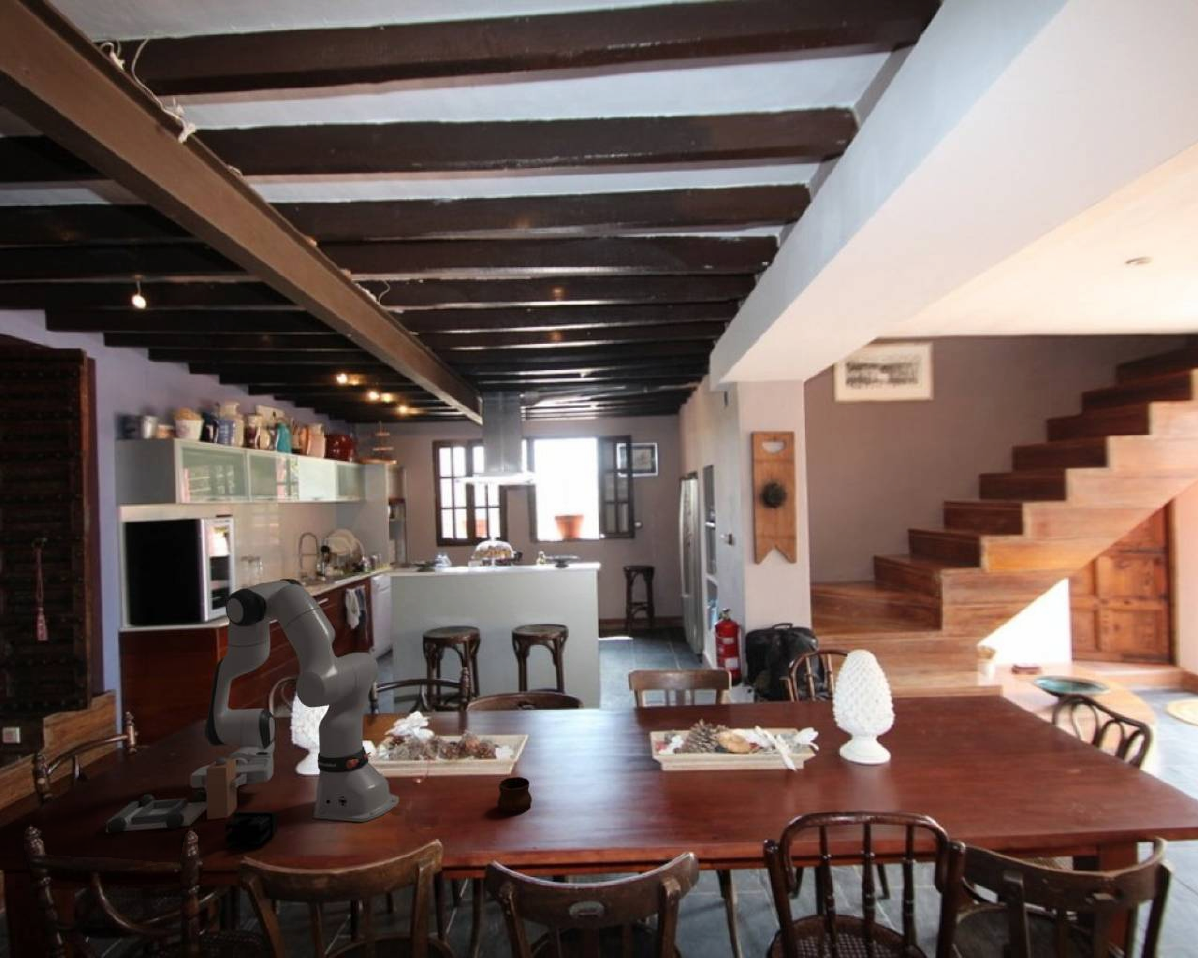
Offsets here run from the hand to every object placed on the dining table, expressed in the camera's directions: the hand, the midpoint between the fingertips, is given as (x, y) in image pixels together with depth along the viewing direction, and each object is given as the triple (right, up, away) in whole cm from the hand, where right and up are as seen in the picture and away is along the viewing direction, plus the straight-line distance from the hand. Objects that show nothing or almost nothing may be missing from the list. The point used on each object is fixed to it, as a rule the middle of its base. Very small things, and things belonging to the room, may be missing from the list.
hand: (220, 785), depth 184 cm
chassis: (-15, -8, -1) cm, 17 cm away
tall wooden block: (0, -8, +1) cm, 8 cm away
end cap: (+16, -7, -16) cm, 24 cm away
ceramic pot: (+78, -5, -3) cm, 79 cm away
